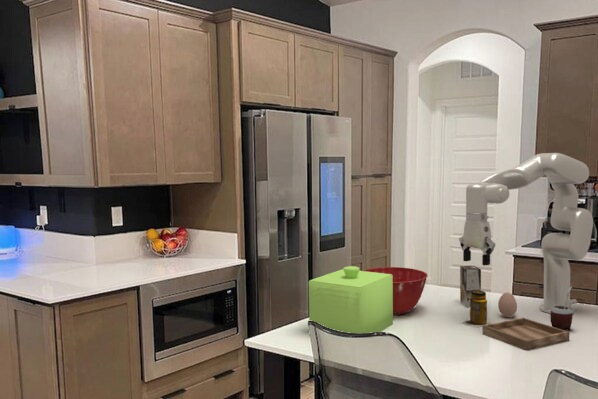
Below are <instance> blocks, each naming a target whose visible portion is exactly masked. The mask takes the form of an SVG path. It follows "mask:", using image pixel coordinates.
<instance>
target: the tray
mask: <svg viewBox="0 0 598 399" xmlns="http://www.w3.org/2000/svg"><path fill="white" fill-rule="evenodd" d="M482 335H485V336H487V337H489V338H492V339H495V340H498V341H500V342H502V343H506V344H508V345H511V346H513V347H516V348H519V349H522V350H524V351H526V350H528V351H532V350H536V349H540V348H544V347H548V346H551V345H552V346H553V345H556V344H561V343H562V344H563V343H566V342H569V341H570V331H569V330H562V329H558V328H555V327H552V325H549V324H548V325H547V324H545V323H541V322H539V321H535V320H532V319H529V318H525V317H520V318H515V319H514V318H513V319H509V320H504V321H499V322H494V323H491V324H488V325H483V326H482ZM531 349H532V350H531Z"/></svg>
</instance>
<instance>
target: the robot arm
mask: <svg viewBox="0 0 598 399" xmlns="http://www.w3.org/2000/svg"><path fill="white" fill-rule="evenodd" d="M544 176H546V178H547V180H548V181H549V182H550V184H551V187H552V188H553V190H554V200H553V205H552V210H551V216H550V225H551V227H552V228H554V229H556V230H559V231H567V232H569V233H570V234H567V233H560V232H550V233H547V234H545V235H544V236H543V237H542V240H541V245H540V246H541V251H542V256H543V304H540V305H539V310H540V311H542V312H544V313H547V314H550V312H551V309H552V308H553V307H554V306H565V301H566V294H567V292H568V290H569V289H570V287H571V266H570V262H569V260H573V261H580V260H582V259H584V258H585V257H586V255H587V254H588V250H589V247H590V241H591V237H592V232H593V227H594V218H593V215H592V213H591V212H590V210H588V209H586V208H582V207H578V202H579V192H578V189H577V188H576V186H575V185H579V184H580V185H581V184H583V183H586V181H587V180H588V179H589V177H590V170H589V167H588V166H587V164H585V163H584V162H583V161H580V160H578V159H576V158H573V157H571V156H569V155H566V154H563V153H560V152H547V153H546V152H544V153H543V152H542V153H537V154H535V155H533V156H531V157H529V158H528V159H526V160H524V161H523V162H521V163H520V164H517V165H516V166H514V167H511V168H509V169H507V170H503V171H500V172H498V173H496V174H492V175H491V176H488V177H486V178H485V179H483V180H481V181H480V182H478V183H477V184H469V185H467V186H466V188H465V189H466V190H465V222H464V227H463V236H461V237H459V238H458V241H459V244H460V247H461V250H462V252H463V253H462V254H463V257H462V258H463V260H462V261H463V262H470V261H471V260H472V257H471V256H472V251H471V248H473V249H478V250H479V249H480V250H481V251H482V253H483V254H482V257H481V258H482V259H481V261H482V266H484V267H485V266H490V265H491V255H492V253H493V251H494V249H495V247H496V243H495V242H494V241H493V240H492V231H491V225H490V222H489V221H488V220H489V215H488V204H496V205H497V204H503V203H505V202H507V201H508V199H509V198H510V190H517V189H521V188H525V187H528V186H529V185H531V184H532V183H534V182H535V181H537V180H539V179H541V178H542V177H544ZM577 302H578V301H577V299H576V298H572V299H571V291H570V292H569V296H568V299H567V305H566V307H568V308H569V309H570V310H571V312H572V314H574V313H575V309H574V308H573V307H572V305H576V304H577Z"/></svg>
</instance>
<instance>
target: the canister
mask: <svg viewBox="0 0 598 399" xmlns="http://www.w3.org/2000/svg"><path fill="white" fill-rule="evenodd" d="M308 310H309V311H308V312H309V313H308V316H309V317H308V318H309V320H312V321H315V322H317V323H320V324H322V325H324V326H326V327H328V328H331V329H335V330H339V331H343V332H350V333H370V332H379V333H381V332H382V331H384V330H387V329H388V328H389V327H391V326H392V325H394V315H393V275H392V274H384V273H375V272H367V271H363V270H360V267H359V266H352V265H349V266H345V267H343V268H342V269H339V270H337V271H333V272H329V273H327V274H324V275H322V276H319V277H316V278H313V279H310V280H309V281H308ZM387 327H388V328H387Z"/></svg>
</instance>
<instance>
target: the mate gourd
mask: <svg viewBox="0 0 598 399" xmlns="http://www.w3.org/2000/svg"><path fill="white" fill-rule="evenodd" d="M572 289H573V286H570V289H569V290H568V292H567V294H566V301H565V306H554V307H553V308H552V309H551V312H550V313H549V316H550V317H549V318H550V325H551V326H552V327H555V328H558V329H562V330H565V331H568V332H570V331H571V330H572V329H571V327H572V323H573V313H572V312H571V310H570V309H569V308H568V307H566V305H567V299H568V296H569V292H570V293H571V290H572Z"/></svg>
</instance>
